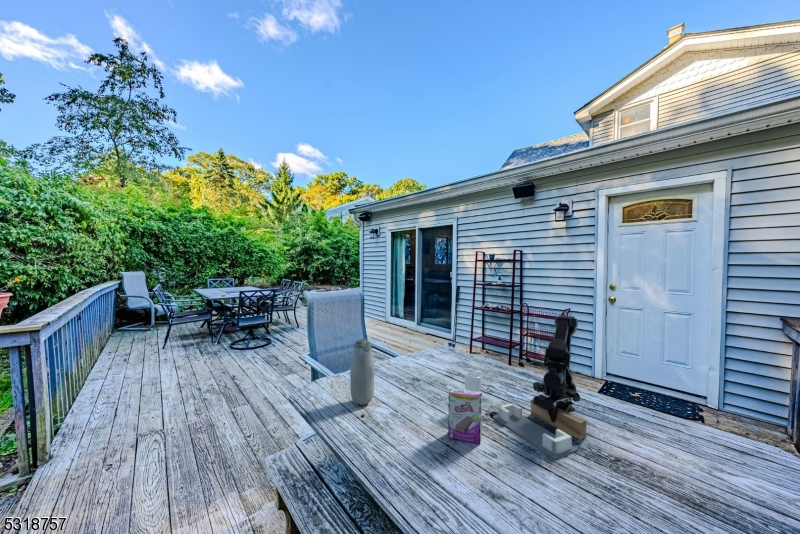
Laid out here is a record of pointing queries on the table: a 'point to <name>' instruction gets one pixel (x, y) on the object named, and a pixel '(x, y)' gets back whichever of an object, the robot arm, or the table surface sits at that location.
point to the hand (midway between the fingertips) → (556, 420)
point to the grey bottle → (362, 373)
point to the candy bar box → (465, 415)
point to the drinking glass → (473, 381)
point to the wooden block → (562, 421)
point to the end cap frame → (535, 432)
